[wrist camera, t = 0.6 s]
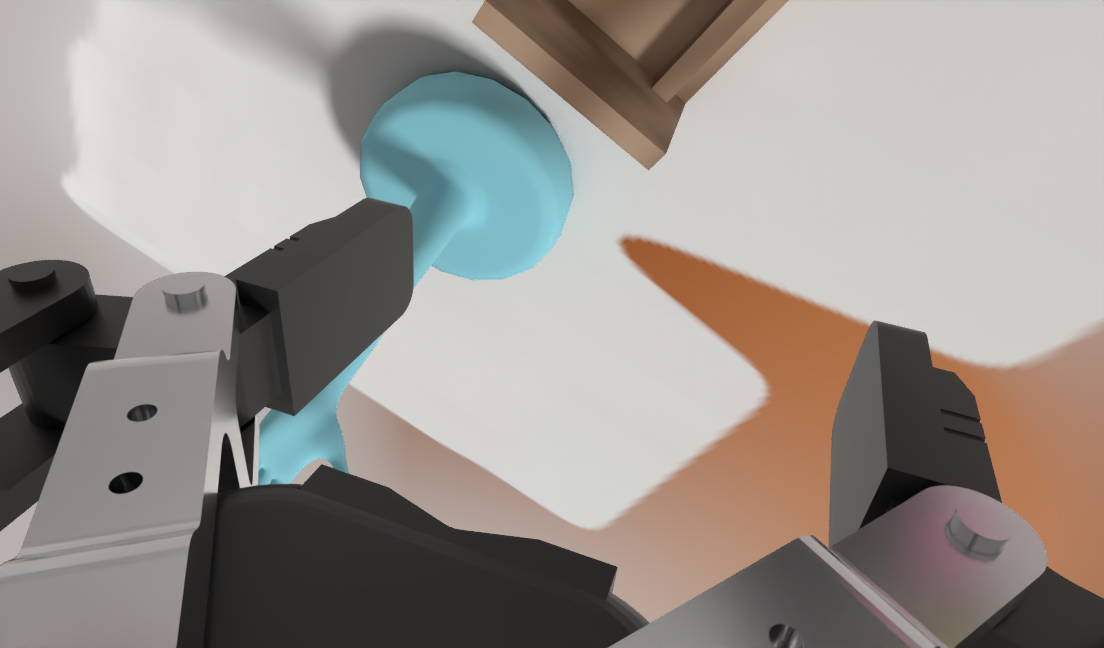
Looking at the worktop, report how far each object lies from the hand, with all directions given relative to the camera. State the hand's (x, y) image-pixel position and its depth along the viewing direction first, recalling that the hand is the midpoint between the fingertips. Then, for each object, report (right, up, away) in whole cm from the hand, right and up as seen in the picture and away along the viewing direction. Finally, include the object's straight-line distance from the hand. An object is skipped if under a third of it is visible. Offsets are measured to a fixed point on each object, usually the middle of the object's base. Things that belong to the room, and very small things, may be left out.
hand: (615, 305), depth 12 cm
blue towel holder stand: (-5, +9, +31) cm, 33 cm away
